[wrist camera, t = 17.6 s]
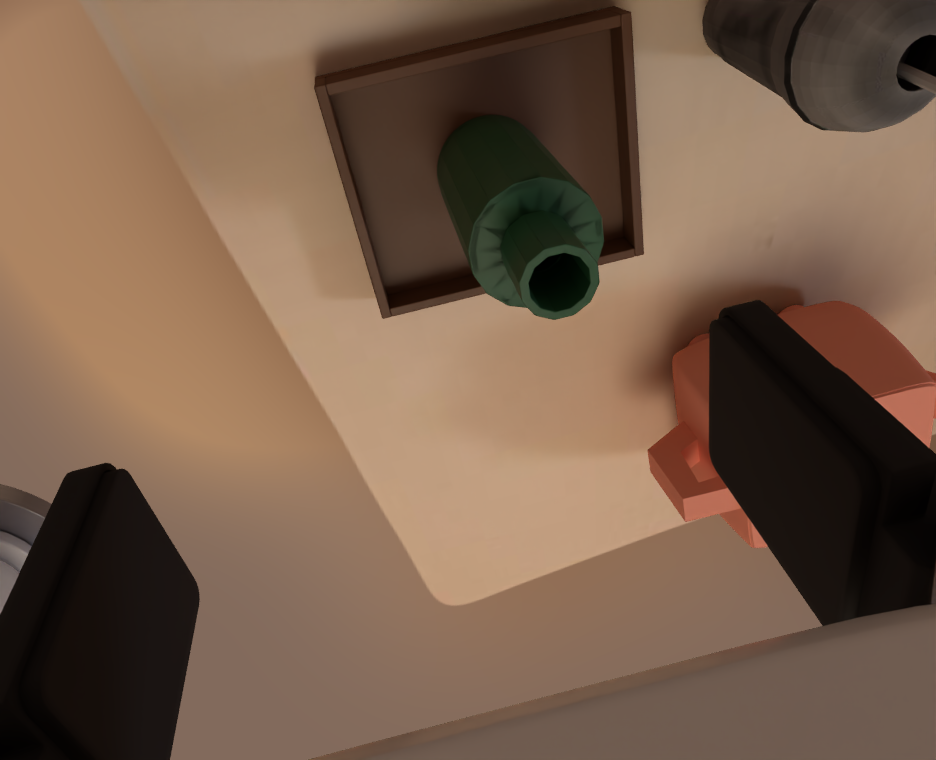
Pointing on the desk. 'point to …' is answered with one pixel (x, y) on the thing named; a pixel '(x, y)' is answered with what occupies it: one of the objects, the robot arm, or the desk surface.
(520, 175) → the bottle
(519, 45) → the tray
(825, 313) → the teapot
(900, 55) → the beverage cup
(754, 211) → the desk surface
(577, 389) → the desk surface
